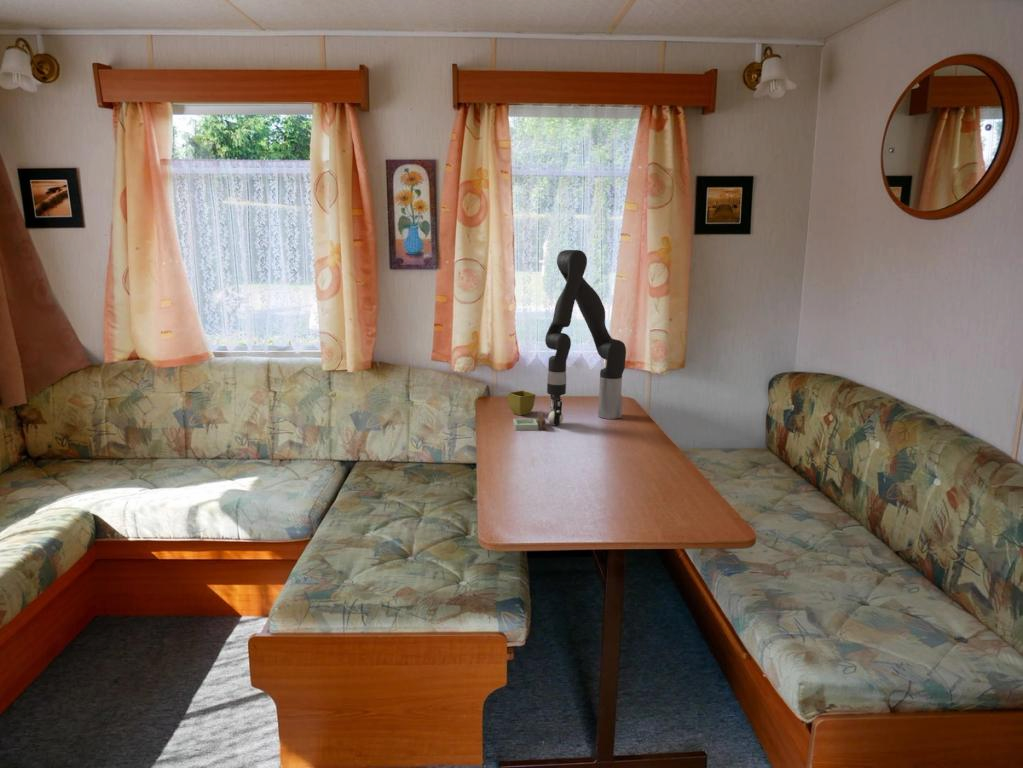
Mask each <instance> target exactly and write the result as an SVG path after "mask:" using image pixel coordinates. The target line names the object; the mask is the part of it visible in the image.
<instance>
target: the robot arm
mask: <svg viewBox="0 0 1023 768" xmlns="http://www.w3.org/2000/svg"><path fill="white" fill-rule="evenodd" d="M587 263H588V258H587V255H586V253H585V252H584V251H583V250H580V249H579V250H578V249H565V250H561V251H560V252H559V253H558V255H557V258H556V264H557V267H558V271H559V272H560V274H561V275H562V277H563V278H564V280H565V282H566V283H565V284H564V285H565V286H564V288H563V289H562V292H561V293H560V295H559V296H558V298H557V300H556V303H555V306H554V312H553V316H552V317H553V318H552V321H551V323H550V325H549V327H548V330H547V332H546V335H545V339H544V341H545V345H546V347H547V348H548V349H550V350H555V351H556V352H555V355H551V356H549V357H548V363H547V364H548V367H547V370H548V372H547V379H546V380H547V382H546V384H547V385H546V393H547V394H548V395H550V411H551V412H552V411H554V425H553V426H559V425H561V424H560V416H561V413H562V410H563V400H562V398H561V396H564V395H565V394H566V393H567V360H568V357H569V354H570V349H571V345H572V341H571V337H570V336H569V335H568V334H567V333H564V332H562V331H563V329H564V328H568V327H570V325H571V321H572V316H573V311H574V306H575V303H577V307H578V308H579V311H580V313H581V315H582V317H583V319H584V321H585V323H586V325H587V327H588V330H589V332H590V335H591V337H592V340H593V342H594V344H595V348H596V351H597V352H596V353H598V356H599V357H600V358H602V359H603V360H606V366H605V367H604V368H602V369H600V371H599V372H600V373H599V390H598V391H599V393H598V412H597V413H598V415H597V416H598V417H600V418H603V419H607V420H608V419H609V420H615V419H621V418H622V416H623V415H622V412H623V395H622V388H623V387H622V384H623V373H624V371H625V368H626V358H627V348H626V345H625V343H624V342H623V341H622V340H619V339H615V338H612V336H611V335H610V333H609V331H608V329H607V327H606V310H605V309H606V308H605V307H604V304H603V302H602V299H601V297H600V296H599V294H598V293H597V291H596V290H595V289H594V288H593V287H592V286H591V285H590V284H589V283H588V282H587V281H586V279H585V278H584V275H585V272H586V268H587V266H588V265H587ZM557 411H559V413H557Z"/></svg>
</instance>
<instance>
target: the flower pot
mask: <svg viewBox="0 0 1023 768" xmlns="http://www.w3.org/2000/svg"><path fill="white" fill-rule="evenodd" d="M507 397H508V398H507V399H508V405H509V409H510V410H511V412H512V413H513V414H515V415H517V416H518V415H519V416H524V415H529V414H530V413H531V412H532V411H533V409H534V405H535V402H536V401H535V400H536V393H534V392H533V393H532V392H529V391H526V390H517V391H512V392H507Z"/></svg>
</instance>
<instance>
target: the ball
mask: <svg viewBox="0 0 1023 768" xmlns="http://www.w3.org/2000/svg"><path fill="white" fill-rule="evenodd" d="M557 413H559V410H557ZM547 418H548V422H549V423H550V424H551V425H552V426H555V425H554V411H551V412H550V413H549V414H548V417H547ZM563 421H564V415H563V413H562V412H561V416H560V424H559V425H561V424H562V423H563Z"/></svg>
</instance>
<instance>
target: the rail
mask: <svg viewBox="0 0 1023 768" xmlns="http://www.w3.org/2000/svg"><path fill="white" fill-rule="evenodd" d="M536 421H537V423H538V430H539V431H540V432H541V431H545V432H546V431H548V428H547V426H546V422H547V421H546V419H545V417H544V414H543V413H542V412H537V419H536Z"/></svg>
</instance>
